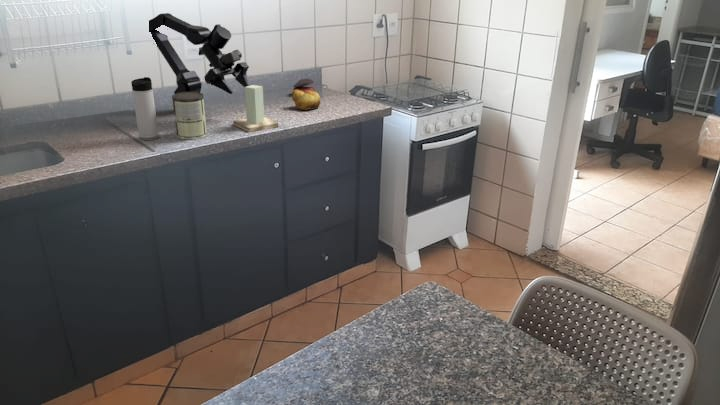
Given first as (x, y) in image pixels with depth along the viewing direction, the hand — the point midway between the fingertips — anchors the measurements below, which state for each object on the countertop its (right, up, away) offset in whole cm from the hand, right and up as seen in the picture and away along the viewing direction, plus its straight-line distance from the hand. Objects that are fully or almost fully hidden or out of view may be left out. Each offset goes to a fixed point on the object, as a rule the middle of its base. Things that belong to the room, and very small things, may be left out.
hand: (240, 91), depth 200 cm
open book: (+5, -12, +2) cm, 14 cm away
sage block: (+5, -11, +1) cm, 12 cm away
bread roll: (+23, -1, +28) cm, 36 cm away
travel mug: (-28, -19, -15) cm, 37 cm away
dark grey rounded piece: (+18, +8, +50) cm, 54 cm away
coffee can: (-15, -18, -11) cm, 25 cm away
